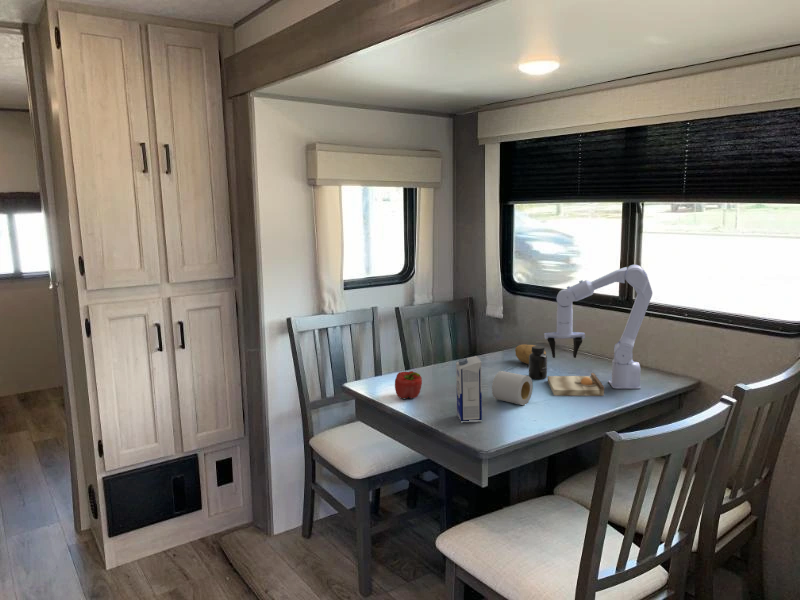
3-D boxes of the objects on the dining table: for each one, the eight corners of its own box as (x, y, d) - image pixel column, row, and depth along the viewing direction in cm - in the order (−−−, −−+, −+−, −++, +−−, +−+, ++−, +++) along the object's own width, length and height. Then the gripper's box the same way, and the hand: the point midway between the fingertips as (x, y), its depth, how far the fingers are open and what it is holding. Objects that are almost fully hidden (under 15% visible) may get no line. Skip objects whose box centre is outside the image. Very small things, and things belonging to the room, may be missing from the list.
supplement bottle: (547, 380, 224) (547, 349, 222) (528, 379, 226) (529, 349, 224) (546, 374, 231) (546, 345, 229) (528, 374, 232) (528, 344, 230)
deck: (595, 381, 221) (595, 372, 221) (605, 395, 206) (605, 386, 205) (547, 381, 223) (547, 373, 223) (554, 395, 207) (554, 386, 207)
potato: (524, 358, 254) (524, 340, 253) (550, 365, 243) (551, 346, 242) (509, 362, 249) (509, 344, 247) (535, 369, 238) (535, 350, 236)
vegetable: (430, 397, 211) (429, 370, 209) (410, 404, 203) (409, 377, 202) (408, 390, 218) (407, 364, 216) (388, 397, 211) (387, 371, 209)
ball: (579, 375, 215) (579, 386, 216) (582, 379, 212) (582, 389, 212) (590, 375, 215) (590, 386, 216) (593, 379, 211) (593, 389, 212)
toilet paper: (532, 400, 204) (532, 372, 202) (518, 409, 196) (518, 380, 194) (506, 394, 210) (506, 367, 208) (492, 402, 203) (491, 375, 201)
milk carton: (482, 422, 186) (481, 361, 182) (460, 423, 185) (459, 362, 182) (477, 414, 193) (476, 355, 189) (456, 415, 192) (455, 356, 189)
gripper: (582, 319, 222) (581, 354, 224) (543, 319, 223) (542, 354, 225) (586, 323, 215) (585, 359, 217) (545, 323, 216) (545, 359, 219)
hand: (564, 357), depth 221 cm, fingers open, 7 cm apart
